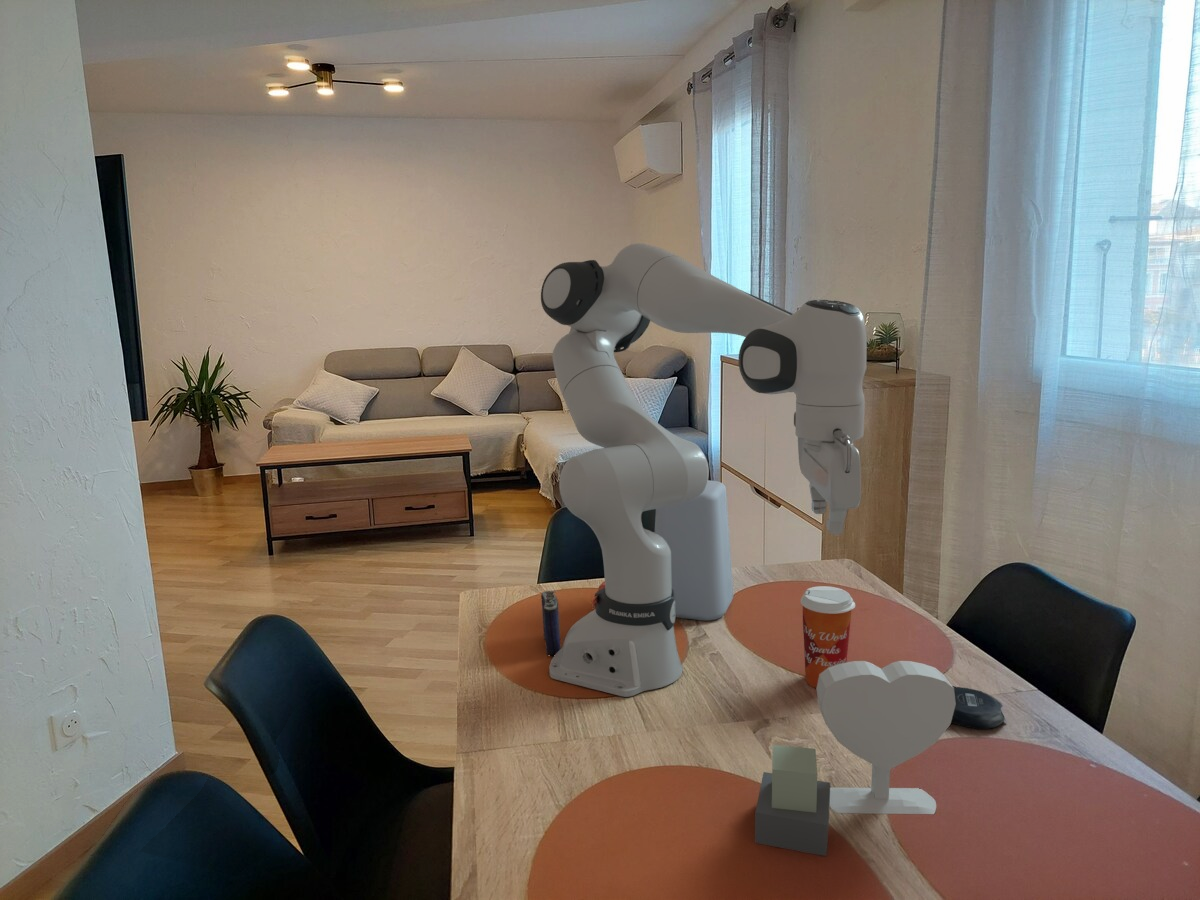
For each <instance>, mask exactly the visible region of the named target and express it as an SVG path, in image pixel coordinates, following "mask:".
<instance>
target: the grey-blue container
mask: <svg viewBox="0 0 1200 900" xmlns="http://www.w3.org/2000/svg"><path fill="white" fill-rule="evenodd" d="M727 496H728V495H727V487H726V486H725V484H724V483H723V482H720V481H717V480H709V479H708V482H707V485H706V487H705V489H704V491H703V492H702V493H701V494H700V495H699V496H697V497H695V498H692V499H690V500H688V501H686V502H683V503H681V504H678V505H675V506H669V507H664V508H658V509H655V517H654V518H655V519H654V533H656V534H658V535H660V536H661V537H662V538H663V539H664V540H665V541H666V542H667V544H668V546H669V548H670V550H671V574H672V589H673V590H674V598H675V618H679V619H685V620H696V621H706V622H708V621H714V620H718V619H720V618H722V617H723V616H724V615H725V614H726V612H727V611H728V608H729V606H730V605H731V603H732V602H733V598H734V583H733V569H732V555H731V553H732V552H731V541H730V539H731V537H730V528H729V525H730V524H729V512H728V511H729V509H728V498H727Z"/></svg>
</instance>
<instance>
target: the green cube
mask: <svg viewBox="0 0 1200 900" xmlns="http://www.w3.org/2000/svg"><path fill="white" fill-rule="evenodd" d="M771 757H772V758H771V760H772V761H771V762H772V763H771V765H772V766H771V769H772V770H771V773H772V808H778V809H787V810H796V811H805V812H814V813H816V804H817V781H818V765H817V764H818V763H817V753H816V748H812V747H811V748H809V747H798V746H789V745H788V746H787V745H780V744H772V756H771Z"/></svg>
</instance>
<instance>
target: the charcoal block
mask: <svg viewBox="0 0 1200 900" xmlns="http://www.w3.org/2000/svg"><path fill="white" fill-rule="evenodd" d="M761 777H762V778H761V781H760V782H761V783H760V787H759V788H760V789H759V792H758V797H757V802H756V806H755V807H756V808H755V811H754V814H755V815H754V822H755V823H754V843H755V844H760V845H764V846H771V847H776V848H781V849H787V850H791V851H798V852H802V853H808V854H813V855H817V856H824V857H827V854H828V853H827V852H828V839H829V837H828V836H829V823H830V822H829V821H830V809H831V807H830V788H831V782H830V781H829V782H828V781H823V780H817V804H816V813H814V812H805V811H796V810H787V809H778V808H772V772H766V771H763V774H762V776H761Z"/></svg>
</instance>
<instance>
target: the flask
mask: <svg viewBox="0 0 1200 900" xmlns="http://www.w3.org/2000/svg"><path fill="white" fill-rule="evenodd" d="M556 592H557V590H556V589H554V590H547V589H546V590H544V591H543V592H541V595H540V596H541V597H540V599H541V611H542V612H541V613H542V626H543V627H542V628H543V630H542V631H543V641H544V642H545V641H546V646H545V647H546V648H545V649H546V650H545V651H546V656H547V655H550V656H554V655H555V654H556V653H557V652H558V651H559V650H560V649H561V648H562V645H561V646H560V644H561V633H560V630H561V629H560V616H559V615H560V614H559V613H560V612H559V601H558V600H559V599H558V597H557V596H556V594H555V593H556Z"/></svg>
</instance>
